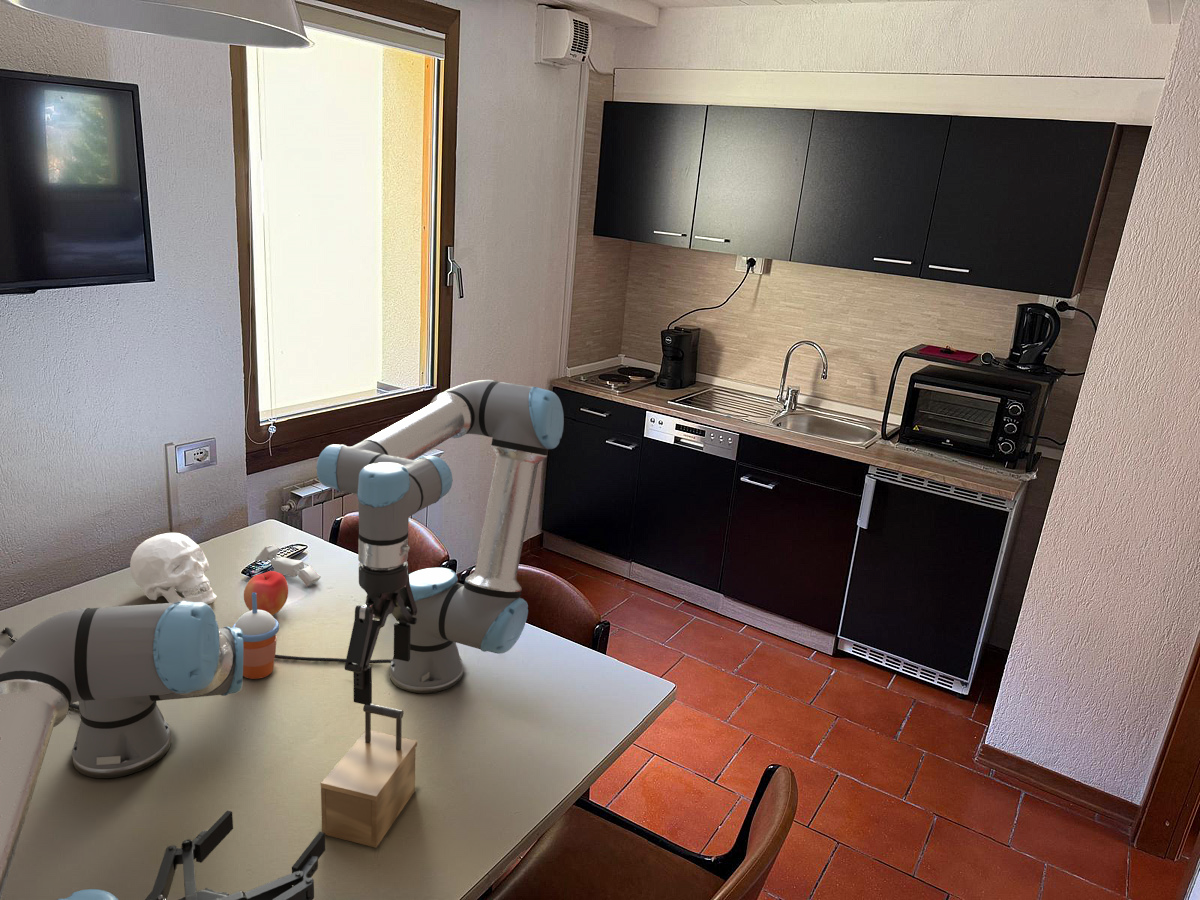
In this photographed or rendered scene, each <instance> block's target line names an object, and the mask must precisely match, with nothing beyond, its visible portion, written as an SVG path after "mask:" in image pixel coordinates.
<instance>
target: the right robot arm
mask: <svg viewBox="0 0 1200 900" xmlns="http://www.w3.org/2000/svg"><path fill="white" fill-rule="evenodd" d="M564 417H565V416H564V409H563V405H562V402H561V399H560V397H559V396H558V395H557V394H556V393H555V392H554V391H552V390H549V389H545V388H541V387H539V386H530V385H525V384H517V383H511V382H504V381H498V380H493V379H479V380H474V381H470V382H466V383H462V384H459V385H456V386H454V387H451V388H448V389H446V390H444V391H442V392H440V393H439V394H436V395H435V396H434V397H433V398H432V400H431V401H430V403H429V404H428V405H427V406H425V407H423V408H421V409H420V410H417V411H415V412H414V413H412V414H410V415H408V416H406V417H404V418H402V419H401V420H399V421H397V422H395V423H393V424H391V425H390V426H388V427H386V428H383V429H382V430H381V431H378V432H377V433H375V434H373V435H371V436H369V437H367V438H365V439H363V440H362V441H359V442H358V443H356V444H354V445H352V446H347V445H346V444H334V443H333V444H329V445H327V446H326V447H325V448H324V449H322V451H321V452H320V453H319V456H318V458H317V461H316V467H315V469H316V476H317V478H318V479H317V480H318V481H319V482H320V484H321V485H322V486H324V487H326V488H329V489H333V490H337V491H338V492H341V493H342V492H344V493H348V494H354V495H356V497H357V507H358V550H357V551H358V552H357V553H358V555H357V556H358V557H357V559H358V562H359V563H358V585H359V587H360V588H361V589H362V590H363V591H364V592H365V593H366V599H365V604H363V605H362V604H361V605H360V604H357V605H355V609H354V621H353V624H352V625H353V626H352V630H351V635H350V639H349V643H348V649H347V654H346V658H338V657H312V656H311V657H309V656H294V655H284V654H275V658H274V659H280V660H288V661H289V660H290V661H301V662H302V661H304V662H306V661H307V662H328V663H329V662H331V663H344V670H345V671H347V672H353V679H352V680H353V683H352V684H353V703H356V704H361V705H369V706H370V704H373V691H372V690H373V679H372V678H373V667H372V666H371V665H370V664H390V666H389V679H390V681H391V682H392V683H393V684H394V685H395V686H396V687H398V688H399V689H401V690H404V691H407V692H410V693H416V694H430V693H431V694H432V693H438V692H441V691H445V690H447V689H450V688H451V687H453V686H455V685H456V684H457V683H458V682H459V681H460V680H461V679H462V676H463V672H464V664H463V660H462V657H461V656H460V653H459V649H458V646H457V644H459V645H463V646H466V647H470V648H474V649H478V650H480V651H482V652H488V653H489V652H490V653H493V654H499V655H501V654H505V653H507V652H509V651H510V650H511V649H512V648H513V647H514V646H515V644H516V643H517V641H518V640H519V639H520V636H521V635H522V633H523V631H524V629H525V626H526V623H527V619H528V615H529V609H528V608H529V605H528V602H527V601H526V600H525V599H524V598H522V597H521V595H522V589H523V588H522V586H521V585H520V582H519V581H518V579H517V577H518V572H519V566H520V562H521V555H522V551H523V545H524V540H525V535H526V530H527V525H528V519H529V514H530V509H531V505H532V499H533V493H534V487H535V483H536V477H537V472H538V467H539V465H540V463H541V462H542V461H544V460H545V459H546V458H548V454H549V450H553V449H555V448H557V447H558V446H559V444H560V443H561V442H560V441H561V439H562V438H563V437H562V436H563V433H564V424H565V421H564V419H565V418H564ZM465 435H477V436H478V435H479V436H485V437H488V438H492V439H491V444H490V448H491V449H492V450H493V452H494V454H495V456H496V458H495V463H494V468H493V474H492V478H491V483H490V489H489V495H488V500H487V505H486V510H485V515H484V521H483V525H482V531H481V535H480V542H479V545H478V551H477V557H476V562H475V566H474V571H473V572H472V573H470V574H469V575H468V576H466V577H465V580H464V584H462V583H460V582H458V580H459V579H458V575H457V573H456V572H455V571H454V570H453V569H450V568H446V567H428V568H421V569H418V570H416V571H413V572H410V573H409V562H408V561H407V560H408V558H409V552H410V551H411V546H410V545H409V523H410V517H411V516H413V515H415V514H417V513H418V512H420V511H422V510H424V509H425V508H428V507H429V506H432V505H434V504H437V502H439V501H440V500H441V499H442V498H443V497H445V496H447V494H449V492H450V491H451V489H452V486H453V473H452V470H451V468H450V466H449V465H448V463H447V462H446V461H445V460H444V459H442V458H440V457H438V456H435V455H427V456H423V455H424V454H426V453H428V452H429V451H431V450H433V449H434V448H437V447H438V446H439V445H441V444H443V443H444V442H446V441H448V440H449V439H460V438H462V437H464V436H465ZM390 615H392V617H393V618H394V619H395V621H396V622H395V623H394V624H393V656H392V659H391V658H390V659H387V658H386V659H372V656H373V653H374V650H375V647H376V645H377V641H378V637H379V634H380V631H381V629H382V628H384V627H385V625H386V622H387V619H388V617H389V616H390Z"/></svg>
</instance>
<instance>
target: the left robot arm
mask: <svg viewBox="0 0 1200 900" xmlns="http://www.w3.org/2000/svg"><path fill="white" fill-rule="evenodd" d="M4 628H5V630H4ZM4 628H3V630H2V633H5V634H6V635H7V634H8V635H7V637H8V636H10V637H11V638H12V637H13V636H14V635H13V633H12V630H11V629H10V628H9V627H4ZM11 638H9V640H10V641H11V643H12V644H11V645H10V646H9V647H8V648H7V649H6V650H5V651H4V652H3V653H2V654H1V655H0V900H2V896H3V893H4V891H5V886H6V884H7V880H8V877H9V874H10V870H11V867H12V865H13V864H12V863H13V860H14V857H15V854H16V850H17V847H18V844H19V841H20V838H21V835H22V831H23V828H24V824H25V821H26V818H27V815H28V811H29V808H30V805H31V801H32V800H33V799H32V798H33V795H34V792H35V788H36V786H37V782H38V779H39V775H40V773H41V769H42V765H43V762H44V759H45V756H46V753H47V749H48V746H49V743H50V739H51V737H52V733H53V730H54V728H55V727H57V726H58V725H60V724H61V723H62V722H63V721H64V720H65V719H66V717H67V716H68V713H69V709H74V710H78V711H79V717H80V721H79V722H80V723H79V725H78V729H77V733H76V736H75V741H74V743H73V747H72V750H71V756H72V762H73V763H72V764H73V766H74V768H75V770H77V772H78V773H80V774H82V775H84V776H87V777H90V778H95V779H114V778H119V777H124V776H125V777H126V776H128V775H132V774H136V773H138V772H140V771H143V770H145V769H147V768H149V767H150V766H152V765H154V764H155V763H157V762H159V760H161V759H163V757H165V755H166V754H167V753H168V751H169V749H170V748H171V745H172V735H171V734H172V733H171V727H170V725H169V724H168V722H167V721H166V720H165V717H164V715H163V713H162V711H161V710H160V708H159V706H158V703H157V702H160V701H168V700H180V699H190V698H204V697H215V696H221V697H226V696H228V695H231V694H232V695H233V694H237V693H239V692H240V691H241V690H242V688H243V680H244V679H243V677H244V676H243V631H242V630H241V629H240V628H237V627H233V626H232V627H231V626H224V627H219V624H218V621H217V620H216V613H215V612H214V610H213V608H212V607H211V606H210V605H209V604H205V603H202V602H190V601H179V602H177V603H169V602H165V603H163V602H162V603H150V604H134V605H133V604H132V605H120V606H104V607H84V608H75V609H70V610H66V611H63V612H60V613H57V614H55V615H53V616H51V617H49V618H47V619H45V620H43V621H41V622H40V623H38V624H37V625H35V626H34V627H32V628H30V629H29V630H27V631H26V632H25V633H24V634H22V635H21V636H20V637H19V638H15V639H16V640H17V641H15V640H13V639H11ZM77 702H78V704H77ZM233 830H234V818H233V811H231V810H226V811H225V812H224V813H223V814H222V815H221V816H220V817H219V818H218V819H216V821H215V822H214V823H213V824H212V825H211V826H210V828H209V829H207V830H206V829H204V830H202V831H201V832H199V834H198V835H197V836H196V837H195V838H194V839H185V840H183V841H182V842H181V847H177V845H175V844H171V845H169V846H167V847H166V848H165V850H164V854H163V857H162V860H161V863H160V866H159V869H158V871H157V875H156V878H155V881H154V884H153V887H152V890H151V892H150V893H149V894H148V895H147V897H146V898H145V899H144V900H168V898H169V894H170V892H171V891H170V890H171V887H172V885H173V881H174V877H175V874H176V872H177V868H178V866H179V865H182V869H183V870H182V871H183V885H184V896H183V897H181V898H179V899H177V900H314V899H315V879H314V878H312V877H313V876H314V874H315V873H316V872H317V870H318V869H319V859H320V858H321V857H322V855H323V854H324V853H325V852H326V835H325V833H323V832H322V831H318V833H317V834H316V836H315V837H314V838H313V839H312V840H311V842H310V843H309V844H308V846H307V847H305V850H304V851H303V852H302V853H301V855H300V856H299V857H298V858H297V859H296V861H295V863H293V864H292V866H291V873H289V874H287V875H284V876H282V877H279V878H277V879H274V880H272V881H269V882H266V883H264V884H262V885H259V886H257V887H255V888H252V889H250V890H247V891H243V890H238V891H236V892H233V893H230V894H229V893H228V892H224V891H216V890H214V889H212V888H208V887H205V888H204V889H200V890H197V882H196V870H195V862H196V863H200V864H201V863H203V862H204V861H205V860H206V859H207V857H209V855H210V854H211V853H212V852H213V851H214V850H215V849H216V848H217V847H218V846H219V845H220V844H221V843H222V841H223V840H224V839H225V838H226V837H227V836H228V835H229V834H230V833H231V832H232V831H233ZM57 900H119V898H118V897H117V896H115V895H114V894H112V893H111V892H109V891H107V890H103V889H97V888H89V889H88V888H87V889H81V890H77V891H74V892H72V893H71V895H70V896H67V897H65V898H60V897H59V898H58V899H57Z"/></svg>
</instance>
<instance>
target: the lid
mask: <svg viewBox="0 0 1200 900" xmlns="http://www.w3.org/2000/svg"><path fill="white" fill-rule="evenodd" d="M362 708H363V709H362V710H363V712H364V713H365V714H364V722H365V725H364V727H365V730H364V731H363V733H362V734H360V736H359V737H358V738H357V740H356V741H355V742H354V743H353V744H352V746H351V747H350V748H349V749H348V750H347V751H346V752H345V754H344V755H343V756H342V757H341V758H340V760H338V762H337V763H336V764H335V766H334V767H333V768H332V769H331V770H330V771H329V773H328V774H327V775H326V776H325V777H324V778H323V780H322V781H321V782H320V789H321V788H324V789H328V790H332V791H337V792H341V793H345V794H349V795H353V796H357V797H361V798H365V799H369V800H373V801H377V800H378V798H379V797H380V795H381V794H382V793H383V791H384V790H385V789H386V787H387V786H388V785H389V783H390V782H391V780H392V779H393V778H394V776H395V775H396V774H397V772H398V771H399V769H400V768H401V767H402V765H403V764H404V763H405V761H406V760H407V759H408V757H409V756H410V754H411V753H412V752H413V750H414V749H415V748H417V747H418V740H416V739H411V738H406V737H403V736H402V732H403V731H402V728H403V727H402V724H403V722H402V719H403V717H404V713H405V712H404V710H403V709H397V708H394V707H389V706H385V705H381V704H380V705H379V704H375V703H371V704H370V706H369V705H365V704H363V707H362ZM372 715H377V716H382V717H387V718H390V719H395V735H394V734H389V733H385V732H382V731H381V732H380V731H376V730H372Z"/></svg>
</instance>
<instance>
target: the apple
mask: <svg viewBox="0 0 1200 900" xmlns="http://www.w3.org/2000/svg"><path fill="white" fill-rule="evenodd" d="M254 592H255V593H256V597H257V610H264V611H266V612H268V613H270V614H271V615H272V616H273V617H274V616H275V615H276V614H278V613H279V612H280V611H281V610H282V609H283V607H284V606H285V605H286V603H287V600H288V597H289V584H288V581H287V579H286V577H285V575H282V574H281V573H278V572H275V571H268V570H267V571H266V572H264V573H259V574H255V575H254V576H253V577H251V578H250V579H249V580H248V582H247V583H246V585H245V587H244V590H243V601H244V604H245V607H247V609H248V611H250V610H252V593H254Z"/></svg>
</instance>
